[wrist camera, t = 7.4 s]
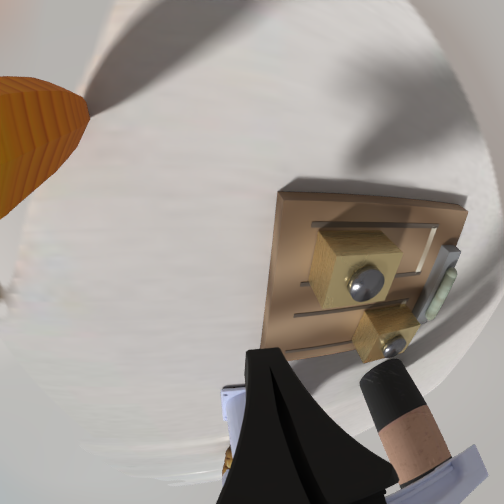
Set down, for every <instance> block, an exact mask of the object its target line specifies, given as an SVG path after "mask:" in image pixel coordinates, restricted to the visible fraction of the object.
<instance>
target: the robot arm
mask: <svg viewBox="0 0 504 504" xmlns="http://www.w3.org/2000/svg"><path fill="white" fill-rule="evenodd" d="M244 375H245V387H240V388H227V389H222V390H221V399H222V411H223V420H224V421H227V422H228V430H229V437H230V444H231V451H232V458H233V460H232V463H231V466H230V469H228V470H226V472H225V473H224V474H223V477H222V484H223V488H222V491H221V493H220V495H219V498H218V500H217V503H216V504H460V503H461V502H462V501H463V500H464V499H465V498H466V497H467V496H468V495H469V494H470V493H471V492H472V491H473V490H474V489H475V488H476V487H477V486H478V485H479V484H481V483H482V481H484V480H485V479H486V478H487V477H488V473H487V470H486V468H485V466H484V463H483V461H482V459H481V457H480V454H479V452H478V450H477V448H476V446H475V444H473V445H472V446H470V447H469V448H467V449H466V450H465V451H463V452H462V453H460V454H458V455H457V456H455V457H453V458H451V459H449V460H448V461H446V462H445V463H443V464H442V465H440V466H439V467H437V468H436V469H435V470H434V471H433V472H431V473H429V474H428V475H426V476H424V477H423V478H421V479H419V480H417V481H416V482H414V483H412V484H410V485H408V486H406V487H405V488H403V489H401V490H399V491H397V492H395V493H393V494H391V495H388V496H386V497H384V494H386V490H385V489H386V488H388V487H390V486H392V485H394V484H396V483H398V482H399V477H398V474H397V472H396V470H395V469H394V467H393V465H392V464H391V463H389V462H387V461H386V460H384V459H382V458H381V457H379V456H377V455H376V454H374V453H373V452H371V451H370V450H368V449H367V448H365V447H364V446H363V445H361V444H360V443H358V442H357V441H356V440H355V439H354V438H352V437H351V436H350V435H349V434H347V433H346V432H345V431H344V430H343V429H342V428H341V427H340V426H338V425H337V424H336V423H335V422H334V421H333V420H332V419H331V418H330V417H329V416H328V415H327V414H326V412H325V411H324V410H323V409H322V408H321V407H320V406H319V405H318V403H317V402H316V401H315V400H314V399H313V397H312V396H311V395H310V394H309V392H308V391H307V390H306V388H305V387H304V386H303V384H302V383H301V381H300V380H299V379H298V377H297V376H296V374H295V373H294V371H293V370H292V368H291V366H290V365H289V363H288V362H287V360H286V358H285V356H284V355H283V353H282V351H281V349H280V348H279V347H274V348H264V349H254V350H248V351H247V352H246V360H245V374H244Z"/></svg>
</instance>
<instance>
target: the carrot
mask: <svg viewBox="0 0 504 504" xmlns="http://www.w3.org/2000/svg"><path fill="white" fill-rule="evenodd" d="M89 120H90V116H89V112H88V108H87V103H86V101H85V100H84V99H83V97H81V96H79V95H77V94H75V93H73V92H71V91H69V90H66V89H64V88H62V87H60V86H57V85H55V84H52V83H50V82H47V81H43V80H40V79H36V78H32V77H10V76H3V77H0V219H1V218H3V217H4V216H6V215H7V214H8V213H9V212H10V211H11V210H12V209H13V208H15V207H16V206H17V205H18V204H19V203H20V202H21V201H22V200H24V199H25V198H26V197H27V196H28V195H29V194H31V193H32V192H33V191H34V190H35V189H36V188H38V187H39V186H40V185H41V184H42V183H43V182H44V181H46V180H47V179H48V178H49V177H50V176H51V175H53V174H54V173H55V172H56V171H57V170H58V169H59V168H60V167H61V165H62V164H63V163H64V162H65V161H66V160H67V159H68V157H69V156H70V155H71V154H72V152H73V151H74V150H75V149H76V148H77V146H78V144H79V142H80V140H81V137H82V135H83V133H84V131H85V129H86V127H87V125H88V122H89Z"/></svg>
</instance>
